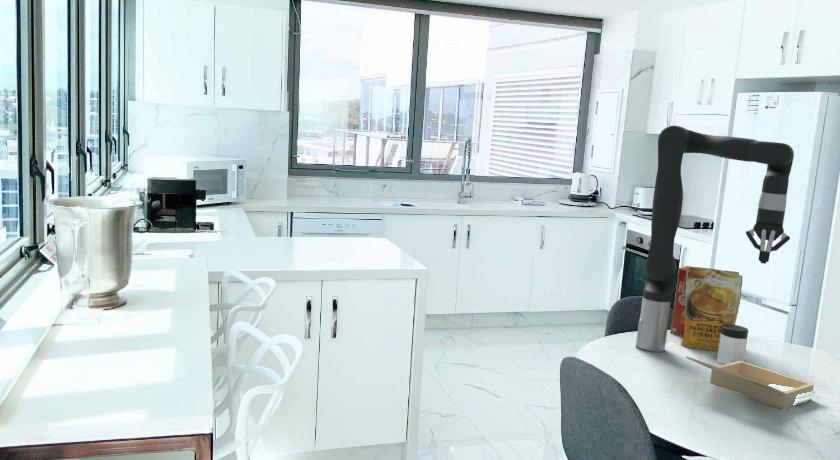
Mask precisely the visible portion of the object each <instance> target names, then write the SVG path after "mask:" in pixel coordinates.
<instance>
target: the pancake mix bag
mask: <svg viewBox="0 0 840 460" xmlns="http://www.w3.org/2000/svg"><path fill="white" fill-rule="evenodd" d="M742 286H743V275H741V274H740V272H739V271H732V270H722V269H718V268H717V269H716V268H708V267H700V266H699V267H697V266H691V267H689V268H687V269H686V292H685V307H686V312H685V322H684V323H685V331H684V337H683V336H682V340H681V343H680V346H684V347H687V348H688V349H689V348H691V349H695V350H702V351H709V352H716V353H717V352H718V345H719V338H720V332H721V326H722V325H723V324H732V325H736V322H737V318H738V315H739V314H738V313H739V309H740V308H739V307H740V304H741V295H742Z"/></svg>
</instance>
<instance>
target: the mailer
mask: <svg viewBox="0 0 840 460" xmlns="http://www.w3.org/2000/svg"><path fill="white" fill-rule="evenodd" d="M717 367H719V368H722V369H725V370H728V371H731V372H734V373H737V374H740V375H742V376H745V377H748V378H751V379H754V380H757V381H760V382H762V383H764V384H766V385H769V384H776V385H781V386H788V387H793V388H795V389H792V390H789V391H786V392H784V394H781V393H778V392H775V391H772V390H770V389H767V388H764V387H761V386H758V385H755V384H752V383H749V382H747V381H744V380H741V379H738V378H735V377H732V376H729V375H727V374H724V373H721V372H718V371H715V370H712V369H711V371H710V379H709V383H711V384H713V385H716V386H719V387H721V388H724V389H727V390H729V391H732V392H736V393H738V394H740V395H743V396H746V397H749V398H751V399H754V400H756V401H760V402H763V403H765V404H767V405H768V404H769V405H771V406H772V407H773V406H774V407H776V408H778V409H781V410H786V409H790V408H792V407H794V406H793V404H794V402H795V399H796V396H797V395H798V394H802V393H807V392H811V391H812V393H813V391H814V386H815V385H814V384H812V383H810V382H807V381H803V380H802V379H797V378H794V377H793V376H792V377H791V376H789V375H785V374H782V373H780V372H776V371H773V370H770V369H767V368H764V367H761V366H758V365H754V364H752V363H748V362H745V361H744V362H743V361H737V362H733V363H730V364H726V365H724V364H721V365H719V366H717ZM779 391H780V390H779ZM782 392H783V391H782Z"/></svg>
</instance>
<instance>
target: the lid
mask: <svg viewBox="0 0 840 460" xmlns="http://www.w3.org/2000/svg"><path fill="white" fill-rule="evenodd" d="M685 358H686V359H688V360H690V361H692V362H695V363H697V364H699V365H701V366H703V367H705V368H707V369H711V371H712V370H715V371H718V372H721V373H724V374H727V375H729V376H732V377H735V378H738V379H741V380H744V381H747V382H749V383H752V384H755V385H758V386H761V387H764V388H767V389H770V390H772V391H775V392H778V393H781V394H784V392H782V391H779V390H777V389H775V388H773V387H771V386H768V385H766V384H764V383H762V382H760V381H757V380H754V379H751V378H748V377H745V376H742V375H740V374H737V373H734V372H731V371H728V370H725V369H722V368H719V367H718V366H716V365H712V364H710V363H707V362H705V361H701V360H699V359H695V358H692V357H690V356H686V357H685Z"/></svg>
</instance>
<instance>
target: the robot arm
mask: <svg viewBox="0 0 840 460" xmlns="http://www.w3.org/2000/svg"><path fill="white" fill-rule="evenodd" d="M684 154H703V155H709V156H715V157H719V158H723V159H728V160H733V161H735V160H736V161H739V162H740V161H742V162H751V163H754V162H755V163H759V164H763V165H767V167H766V172H765V173H766V174H765V175H764V177H763V181H762V187H761V192H760V193H761V194H760V196H759V201H758V204H757V207H758V208H757V212H756V213H757V214H756V221H755V224H754V225H753V228H751V229H749V230H746V231H745V235H746V237H747V238H748V240H749V241H750V243H751V245H752V246H753V247H754V248H755V249H756V250H758V251H759V253H758V262H760V264H763V265H764V264H767V263H769V262H770V255H771V252H776V251H778V250H779V249H780V248H781V247H783V246H784V245H785V244H786V243H787V242H788V241H790V239H791V238H790V237H791V236H789V235H787V234H786V233H785V231H784V221H785V215H786V208H787V203H788V202H787V199H788V198H787V197H788V195H787V194H788V190H789V181H790V180H789V179H790V174H791V171H792V167H793V162H794V156H795V152H794V149H793V147H792V146H791V145H789V144H787V143H784V142H776V141H764V140H763V141H762V140H757V139H753V138H752V139H751V138H745V137H738V136H727V135H725V136H724V135H713V134H706V133H700V132H698V131H694V130H690V129H687V128H685V127H683V126H681V125H679V126H678V125H668V126H666V127H664V128H663V129H662V130H661V131H660V133H659V135H658V138H657V171H656V175H655V176H656V178H655V183H654V193H653V198H652V209H651V227H650V228H651V231H650V232H651V233H650V234H651V235H650V242H649V243H650V244H649V247H648V248H649V249H648V253H647V258H646V261H645V271H646V281H645V284H644V288H643V293H642V299H641V300H642V301H641V309H640V315H639V321H638V325H637V335H636V341H635V348H639V349H642V350H643V351H644V350H645V351H649V352H655V353H656V352H658V353H659V352H660V353H661V352H665V350H666V343H667V336H668V335H667V334H668V330H669V329H668V327H669V319H670V314H671V306H672V298H673V293H674V288H675V283H676V275H677V270H678V264H677V263H678V262H677V259H676V258H675V256H674V247H675V240H676V239H675V238H676V235H677V231H678V228H679V225H680V220H681V216H682V210H683V202H684V201H683V200H684V190H683V189H684V188H683V180H682V172H681V171H682V163H683V156H684ZM755 234H756V236H757V237H758V239H759V240H760V244H759V243H757V241H756V239H755V237H754V236H755ZM780 236H781V237H780ZM778 238H780V240H779V241H778V242H777V243H776V244H774V246H773V243H774V241H776V240H777V239H778ZM766 241H767V243H766Z"/></svg>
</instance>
